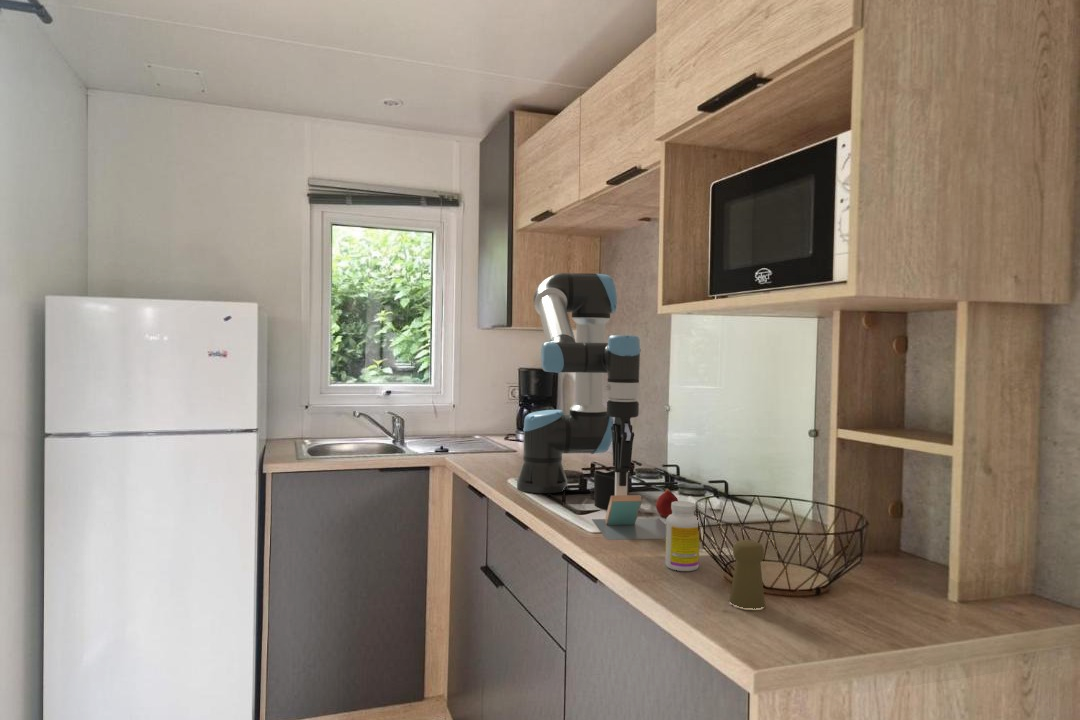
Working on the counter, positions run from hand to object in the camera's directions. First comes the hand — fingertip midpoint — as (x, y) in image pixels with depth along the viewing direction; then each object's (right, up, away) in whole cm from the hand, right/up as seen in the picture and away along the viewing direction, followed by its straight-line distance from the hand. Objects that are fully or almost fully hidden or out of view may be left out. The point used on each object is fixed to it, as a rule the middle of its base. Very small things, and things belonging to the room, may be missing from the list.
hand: (620, 498), depth 167 cm
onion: (+13, -8, +10) cm, 18 cm away
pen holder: (0, -7, +19) cm, 20 cm away
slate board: (+3, -8, -3) cm, 9 cm away
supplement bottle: (+9, -9, -26) cm, 29 cm away
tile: (0, -6, +1) cm, 6 cm away
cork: (+17, -10, -45) cm, 49 cm away
